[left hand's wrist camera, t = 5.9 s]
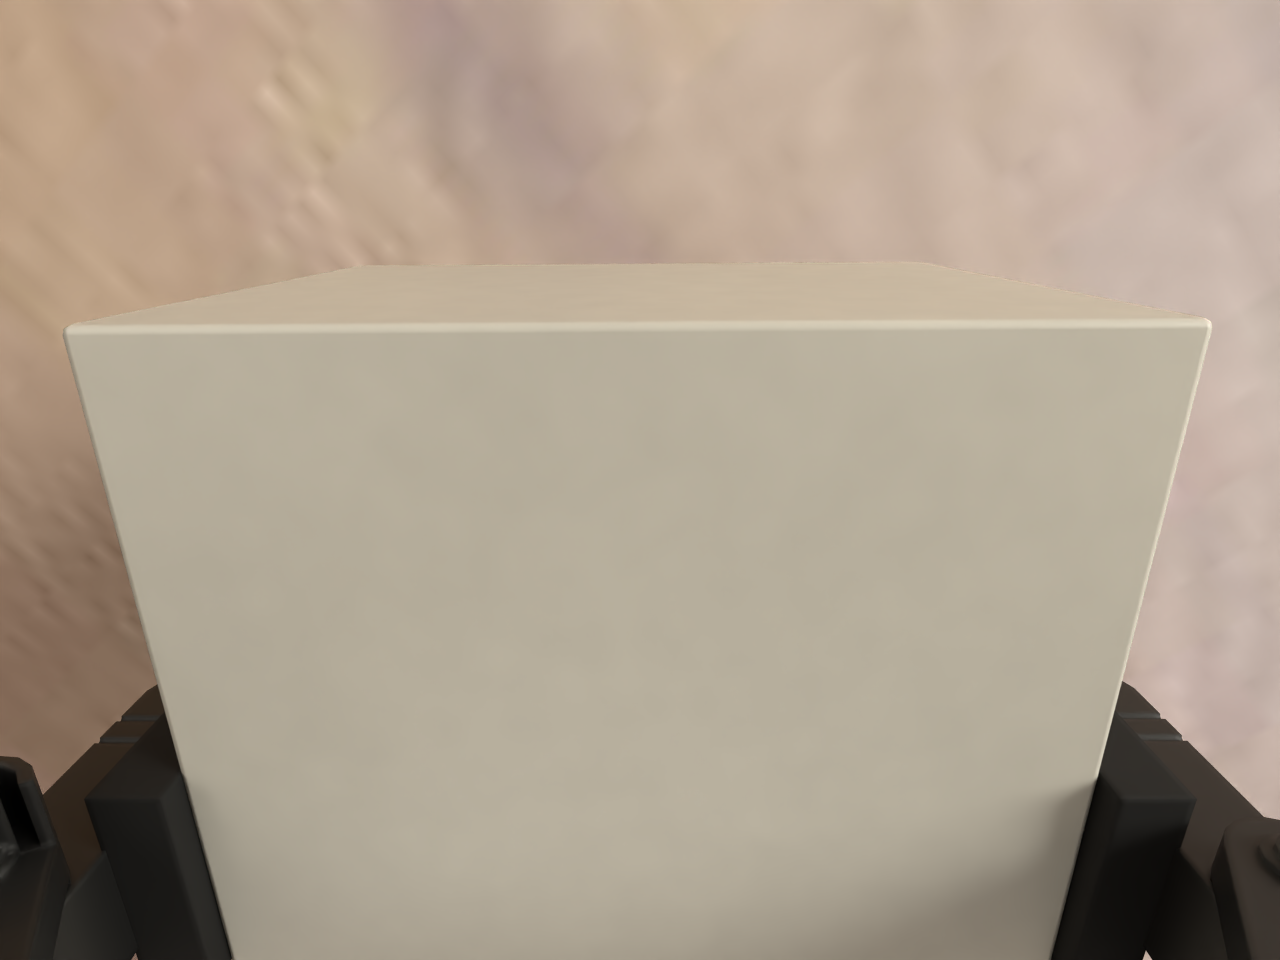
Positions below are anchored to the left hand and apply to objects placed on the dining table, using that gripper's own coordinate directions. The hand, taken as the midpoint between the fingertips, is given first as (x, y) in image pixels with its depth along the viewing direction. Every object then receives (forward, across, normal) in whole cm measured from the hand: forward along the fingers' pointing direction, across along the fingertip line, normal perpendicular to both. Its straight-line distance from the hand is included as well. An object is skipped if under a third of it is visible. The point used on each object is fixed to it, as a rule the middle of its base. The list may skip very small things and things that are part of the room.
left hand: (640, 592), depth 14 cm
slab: (0, 0, -21) cm, 21 cm away
